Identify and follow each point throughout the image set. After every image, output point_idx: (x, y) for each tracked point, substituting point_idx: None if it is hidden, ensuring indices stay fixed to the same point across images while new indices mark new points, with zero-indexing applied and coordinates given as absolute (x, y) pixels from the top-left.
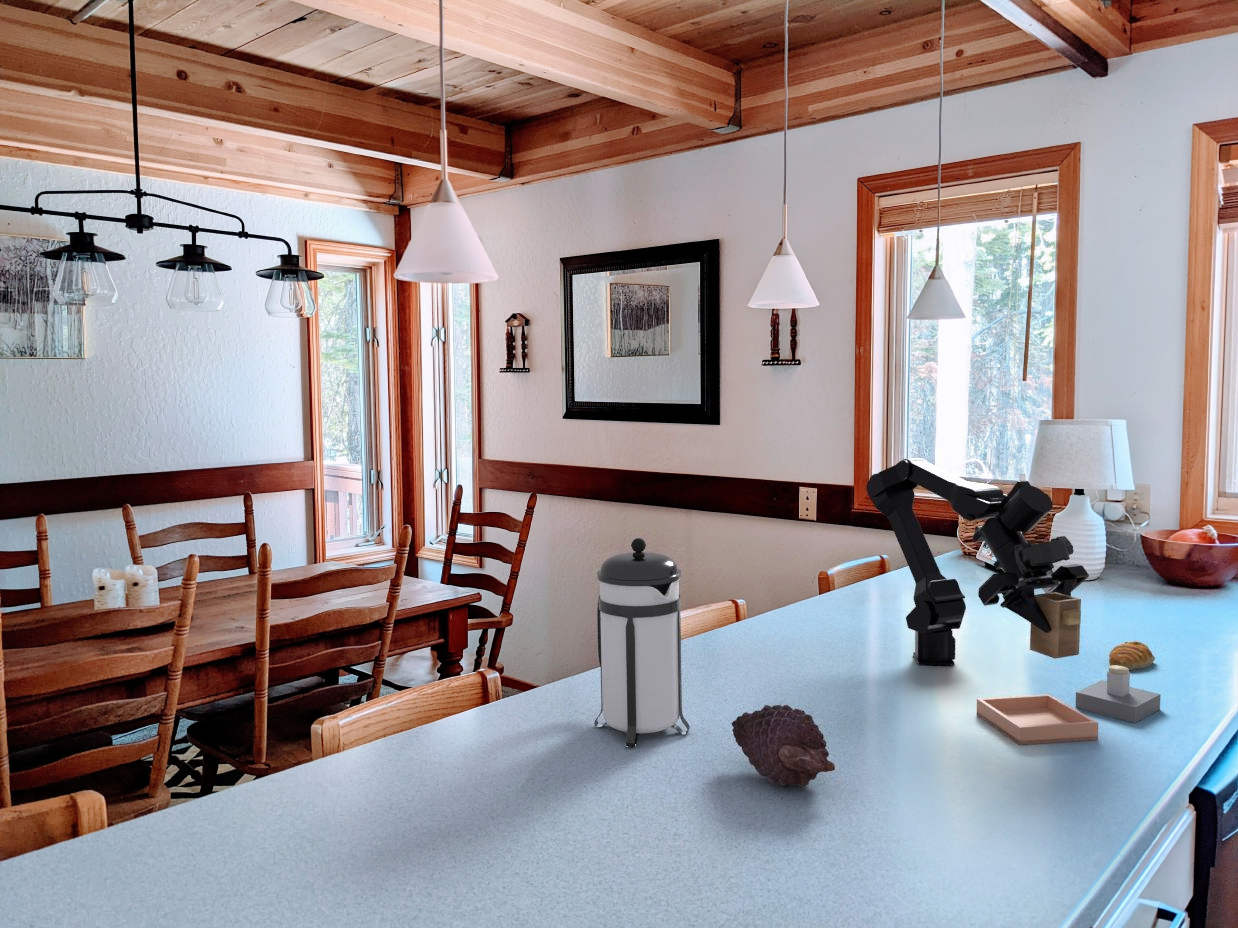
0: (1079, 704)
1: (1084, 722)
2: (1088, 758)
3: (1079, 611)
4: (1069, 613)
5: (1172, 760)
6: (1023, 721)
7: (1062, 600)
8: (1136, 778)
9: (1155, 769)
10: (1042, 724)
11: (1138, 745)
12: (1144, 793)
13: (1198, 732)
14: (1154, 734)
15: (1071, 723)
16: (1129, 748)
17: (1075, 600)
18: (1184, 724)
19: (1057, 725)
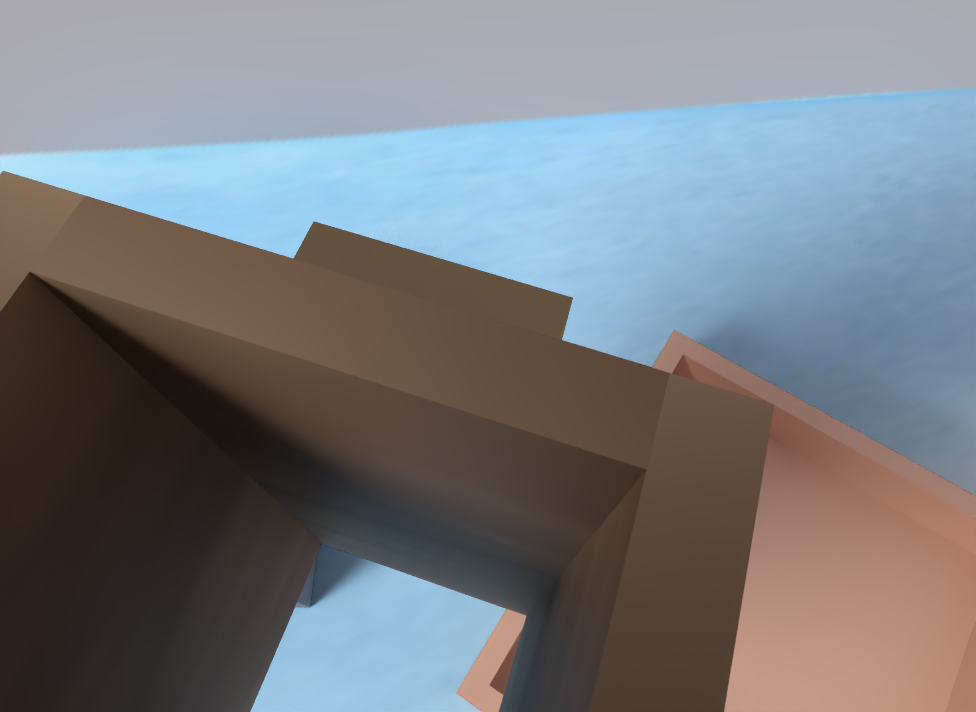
0: (309, 583)
1: (726, 370)
2: (861, 317)
3: (344, 235)
4: (562, 307)
5: (629, 144)
6: (781, 677)
7: (463, 394)
8: (869, 166)
9: (748, 153)
10: (928, 489)
11: (585, 249)
12: (948, 121)
13: (288, 163)
14: (424, 249)
15: (790, 403)
16: (641, 259)
17: (174, 230)
18: (229, 214)
19: (866, 438)
